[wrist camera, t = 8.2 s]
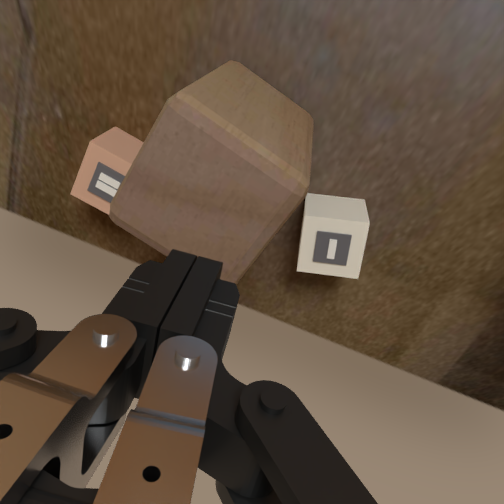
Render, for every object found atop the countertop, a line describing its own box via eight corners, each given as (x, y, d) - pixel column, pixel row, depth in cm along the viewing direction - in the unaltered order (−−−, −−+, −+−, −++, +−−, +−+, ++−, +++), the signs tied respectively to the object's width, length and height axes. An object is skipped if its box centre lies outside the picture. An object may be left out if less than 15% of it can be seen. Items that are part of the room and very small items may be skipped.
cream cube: (364, 199, 49) (370, 224, 43) (354, 250, 51) (358, 280, 46) (306, 192, 49) (304, 216, 44) (299, 244, 52) (296, 272, 46)
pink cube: (167, 155, 49) (147, 175, 44) (146, 201, 52) (124, 225, 46) (115, 126, 49) (88, 142, 43) (96, 174, 51) (68, 195, 46)
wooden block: (260, 196, 50) (226, 301, 32) (179, 142, 48) (97, 220, 31) (318, 117, 45) (316, 188, 28) (231, 54, 44) (170, 87, 26)
